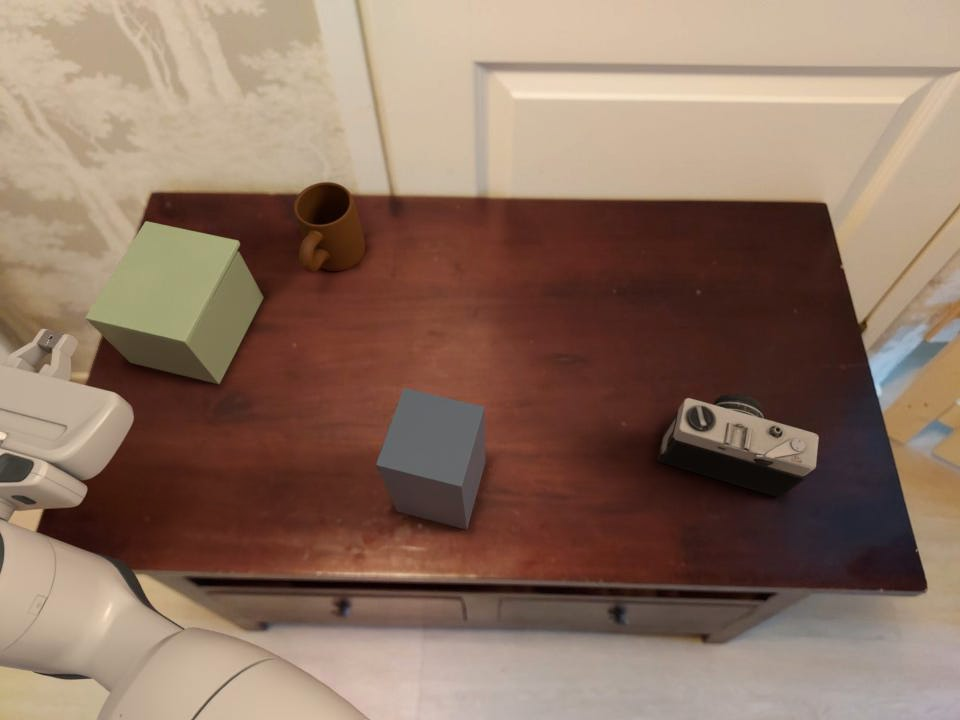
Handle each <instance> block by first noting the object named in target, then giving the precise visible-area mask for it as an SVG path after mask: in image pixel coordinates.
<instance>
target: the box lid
mask: <svg viewBox="0 0 960 720" xmlns="http://www.w3.org/2000/svg"><path fill="white" fill-rule="evenodd" d="M240 246H241V242H240V241H239V240H238V239H232V238H227V237H223V236H219V235H213V234H208V233H206V232H205V233H204V232H200V231H194V230H191V229H184V228H181V227H175V226H171V225H165V224H161V223H157V222H152V221H147V220H146V221H145V222H144V223H143V225H142V226H141V228H140V229H139V231H138V232H137V234H136V236H135V237H134V238H133V240H132V242H131V244H130V245H129V246H128V248H127V250H126V252H125V253H124V254H123V257H122V258H121V260H120V261H119V263H118V265H117V266H116V268H115V269H114V270H113V273H112V274H111V276H110V277H109V279H108V280H107V282H106V284H105V285H104V287H103V289H102V290H101V292H100V293H99V294H98V297H97V298H96V299H95V301H94V303H93V305H92V306H91V308H90V309H89V311H88V312H87V314H86V316H85V320H86V321H87V322H89V321H90V322H94V323H98V324H103V325H107V326H111V327H115V328H119V329H124V330H128V331H132V332H136V333H140V334H145V335H149V336H153V337H157V338H162V339H166V340H170V341H174V342H178V343H183V344H187V343H188V342H189V340H190V338H191V336H192V334H193V332H194V330H195V328H196V327H197V325H198V323H199V321H200V319H201V317H202V315H203V313H204V312H205V310H206V308H207V306H208V304H209V302H210V300H211V298H212V296H213V295H214V293H215V291H216V289H217V287H218V285H219V283H220V281H221V280H222V278H223V276H224V274H225V272H226V270H227V268H228V266H229V265H230V263H231V261H232V259H233V257H234V255H235V253H236V251H238V249H239V248H240Z"/></svg>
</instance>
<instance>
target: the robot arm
mask: <svg viewBox="0 0 960 720" xmlns="http://www.w3.org/2000/svg"><path fill="white" fill-rule="evenodd" d="M78 346H79V341H78V340H77V339H76V338H75V337H74V336H73V335H72V334H69V333H65V332H59V331H56V330H51V329H47V328H41V329H40V330H39V331H38V333H37V334H36V336H34V338H33V339H32V341H31V342H29V343H27V344H25V345H23V346H22V347H20V348H18V349H16V350H15V351H13V352H11V353H10V354H8V356H7V357H6V359H5V360H4V362H3V363H2V364H1V363H0V667H4V668H9V669H15V670H21V671H25V672H26V671H27V672H31V673H34V674H37V675H40V676H45V677H50V678H54V679H58V680H66V681H67V680H68V681H75V680H76V681H77V680H94V681H95V682H96V683H98V684H99V686H101V687H102V688H104V689H105V690H106V691H107V692H109V694H108V696H106V698H105V701H104V702H103V704H102V707H101V708H100V710H99V713H98V715H97V718H96V720H371V719H370V718H369V717H368V716H366V715H365V714H364V713H363V712H361V710H359V709H358V708H357V707H356V706H355V705H354V704H352V703H351V702H350V701H348V700H347V699H346V698H344V697H343V696H342V695H340V694H339V693H338V692H337V691H335V689H333V688H331V687H330V686H328V685H327V684H326V683H325V682H323V681H321V680H320V679H318V678H316V677H315V676H314V675H312V674H311V673H309V672H308V671H306V670H304V669H302V668H300V667H299V666H297V665H296V664H294V663H293V662H290V661H289V660H287V659H286V658H283V657H282V656H280V655H278V654H275V653H274V652H272V651H270V650H268V649H266V648H263V647H262V646H259V645H257V644H254V643H252V642H250V641H247V640H244V639H242V638H239V637H235V636H233V635H229V634H226V633H223V632H218V631H215V630H210V629H206V628H201V627H195V626H193V627H187V628H184V627H182V625H180V624H178V623H177V622H175V621H173V620H172V619H170V618H169V617H167V616H165V615H164V614H162V613H161V612H160V611H159V610H158V609H156V608H155V607H154V606H153V603H151V602H150V600H149V598H148V597H147V595H146V593H145V591H144V589H143V587H142V584H141V583H140V581H139V579H138V577H137V575H136V574H135V572H134V571H133V569H132V568H131V567H130V566H129V565H128V564H127V563H125V562H124V561H123V560H121V559H118V558H115V557H112V556H109V555H105V554H102V553H98V552H93V551H90V550H86V549H84V548H83V549H82V548H81V547H78V546H75V545H72V544H70V543H67V542H64V541H61V540H59V539H56V538H53V537H51V536H48V535H46V534H44V533H41V532H38V531H34V530H31V529H29V528H26V527H23V526H21V525H18V524H16V523H12V522H10V520H11V518H12V516H13V514H14V513H15V512H24V511H25V512H26V511H34V510H48V509H49V510H50V509H66V508H67V509H68V508H75V507H77V506H79V505H80V504H81V503H82V502H83V500H84V499H85V497H86V495H87V492H88V485H86V484H85V483H83V482H82V481H87V480H90V479H92V478H94V477H96V476H97V475H99V474H100V473H101V472H102V471H103V470H105V468H106V466H107V465H108V464H109V463H110V461H111V460H112V459H113V457H114V456H115V455H116V453H117V451H118V450H119V448H120V447H121V445H122V444H123V442H124V440H125V438H126V437H127V435H128V433H129V431H130V429H131V428H132V425H133V423H134V419H135V416H134V409H133V407H132V405H131V404H130V403H129V402H127V401H126V399H124V398H123V397H122V396H121V395H119V394H118V393H116V392H114V391H110V390H106V389H102V388H99V387H94V386H91V385H86V384H83V383H78V382H75V381H70V380H71V378H72V358H71V357H72V356H73V354H74V352H75V351H76V349H77V348H78ZM49 354H50V355H51V358H50V364H47V363H45V364H44V365H43V366H42V367H41V369H40V370H39V371H38V372H36V368H35V367H34V365H36V364H37V363H38V362H40V361H42V360H43V359H44V358H45V357H47V356H48V355H49Z"/></svg>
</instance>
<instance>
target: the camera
mask: <svg viewBox="0 0 960 720" xmlns="http://www.w3.org/2000/svg"><path fill="white" fill-rule="evenodd" d="M662 434H663V435H662V438H661V443H660V448H659V452H658V456H657V461H658V462H660V463H661V464H665V465H668V466H671V467H675V468H679V469H682V470H685V471H688V472H692V473H695V474H699V475H702V476H706V477H709V478H711V479H714V480H715V479H716V480H719V481H722V482H725V483H728V484H732V485H735V486H738V487H741V488H746V489H749V490H752V491H755V492H759V493H762V494H766V495H768V496H773V497H776V498H779V499H781V498H782V497H783V496H784V495H786V494H787V493H789V492H790V491H791V490H793V489H794V488H796V487H797V486H798V485H800V484H801V483H802V482H804V481H805V480H806V478H807V475H808V474H810V473H811V472H812V471H814V470H815V469H816V467H817V457H818V450H819V449H818V448H819V440H820V438H819V435H818V434H817V433H815V432H811V431H808V430H805V429H801V428H798V427H795V426H790V425H788V424H784V423H782V422H781V423H780V422H778V421H773V420H770V419H767V418H764V415H763V407H762V405H761V404H760V402H759V401H758V400H756V399H755V398H754V397H751V396H748V395H745V394H739V393H725V394H722V395H719V396H718V397H717V398H716V399H715V400H714V402H713V404H712V403H708V402H705V401H701V400H697V399H693V398H690V397H687V398H685V399H684V400H683V401H682V403H681V404H680V406H679V407H678V409H677V410H676V413H675V414H674V415H673V418H672V419H671V421H670V423H669V424H668V426H667V427H666V429H665V430H664V432H663V433H662Z"/></svg>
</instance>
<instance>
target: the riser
mask: <svg viewBox="0 0 960 720" xmlns="http://www.w3.org/2000/svg"><path fill="white" fill-rule="evenodd" d="M485 413H486V412H485V406H482V405H479V404H475V403H470V402H465V401H462V400H457V399H453V398H449V397H445V396H440V395H436V394H432V393H429V392H428V393H427V392H423V391H419V390H416V389H415V390H414V389H411V388H406V387H403V388H402V391H401V393H400V396H399V399H398V402H397V404H396V406H395V410H394V412H393V416H392V418H391V421H390V424H389V427H388V428H387V429H388V430H387V433H386V435H385V438H384V440H383V444H382V447H381V449H380V451H379V455H378V458H377V459H376V463H375V466H376V468H377V471H378V473H379V476H380V477H381V479H382V482H383V484H384V486H385V489H386V490H387V493H388V494H389V497H390V499H391V501H392V503H393V506H394V508H395V510H396V512H397V513H401V514H404V515H409V516H413V517H417V518H420V519H425V520H427V521H432V522H436V523H439V524H443V525H447V526H451V527H454V528H459V529H462V530H466V531H467V530H468V529H469V524H470V521H471V518H472V513H473V510H474V507H475V503H476V499H477V496H478V491H479V488H480V485H481V480H482V477H483V475H484V470H485V466H486V463H487V462H486V460H487V459H486V458H487V457H486V422H485V421H486V420H485V419H486V417H485V415H486V414H485Z"/></svg>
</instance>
